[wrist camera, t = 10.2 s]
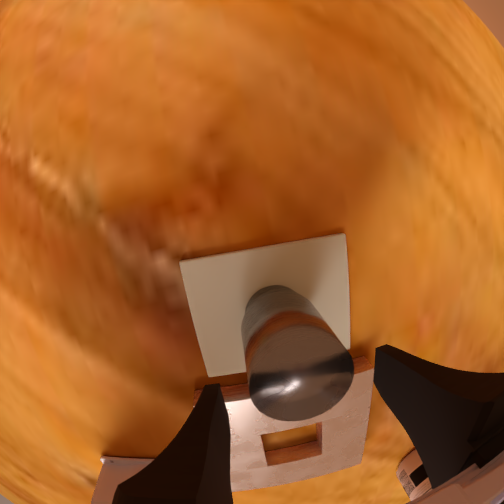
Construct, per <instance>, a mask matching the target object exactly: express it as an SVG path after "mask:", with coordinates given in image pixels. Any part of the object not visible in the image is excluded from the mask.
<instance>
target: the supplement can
mask: <svg viewBox="0 0 504 504" xmlns="http://www.w3.org/2000/svg"><path fill="white" fill-rule="evenodd" d="M396 474H397V477H398V479H399V481H400V482H401V484H402V486H403V488H404V489H405V491H406V493H407V495H408V496H409V498H410V500H411V501H412V500H414V499H416V498H418V497H420V496H422V495H424V494H426V493H428V492H429V491H431V490H432V487H431V484H430V481H429V478H428V475H427V473H426V470H425V468H424V465H423V463H422V461H421V459H420V456H419V454H418V452H417V450H416V449H415V450H413V451H412V452H411V453H410V454H409V455H407V456H406V457H405V458H404V459H403V461H402V462H401V463H400V465H399V467H398V470H397V472H396Z"/></svg>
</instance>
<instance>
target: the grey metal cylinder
mask: <svg viewBox="0 0 504 504" xmlns="http://www.w3.org/2000/svg"><path fill="white" fill-rule="evenodd" d="M241 335H242V342H243V350H244V357H245V365H246V372H247V379H248V386H249V393H250V398H251V401H252V402H253V404H254V406H255V407H256V408H257V409H258V410H259V411H260V412H261V413H263V414H264V415H266V416H268V417H270V418H273V419H276V420H280V421H302V420H307V419H310V418H313V417H316V416H318V415H321V414H323V413H325V412H326V411H328V410H329V409H331V408H332V407H334V406H335V405H336V404H337V403H338V402H339V401H340V400H341V399H342V398H343V397H344V396H345V394H346V393H347V392H348V390H349V388H350V386H351V384H352V381H353V377H354V363H353V360H352V357H351V355H350V354H349V352H348V351H347V350H346V348H345V347H344V345H343V344H342V343H341V341H340V340H339V339H338V337H337V336H336V335H335V333H334V332H333V331H332V329H331V328H330V327H329V325H328V324H327V323H326V321H325V320H324V319H323V317H322V316H321V315H320V313H319V312H318V311H317V309H316V308H315V307H314V305H313V304H312V303H311V302H310V301H309V300H308V299H307V298H306V297H304V296H302V295H300V294H298V293H296V292H295V291H294V290H292V289H290V288H288V287H286V286H282V285H271V286H267V287H264V288H262V289H260V290H258V291H257V292H256V293H255V294H253V295H252V297H251V298H250V299H249V301H248V303H247V305H246V309H245V315H244V317H243V320H242V324H241Z"/></svg>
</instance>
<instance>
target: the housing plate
mask: <svg viewBox="0 0 504 504" xmlns="http://www.w3.org/2000/svg"><path fill="white" fill-rule="evenodd" d="M352 360H353V363H354V377H353V381H352V384H351V386H350V388H349V390H348V392H347V393H346V394H345V396H344V397H343V398H342V399H341V400H340V401H339V402H338V403H337V404H336V405H335V406H334V407H332V408H331V409H329V410H328V411H326V412H325V413H323V414H321V415H318V416H316V417H313V418H310V419H307V420H302V421H280V420H276V419H273V418H270V417H268V416H266V415H264V414H263V413H261V412H260V411H259V410H258V409H257V408H256V407H255V406H254V404H253V402H252V401H251V398H250V393H249V386H248V383H244V384H238V385H231V386H224V387H220V388H221V391H222V395H223V398H224V402H225V405H226V408H227V412H228V415H229V423H230V432H231V449H230V481H231V490H232V492H234V491H244V490H252V489H259V488H265V487H271V486H277V485H282V484H287V483H292V482H297V481H301V480H306V479H310V478H314V477H318V476H322V475H325V474H329V473H332V472H336V471H339V470H342V469H345V468H349V467H352V466H355V465H358V464H360V463H361V460H362V455H363V450H364V444H365V439H366V432H367V426H368V419H369V412H370V404H371V396H372V387H373V377H374V367H373V366H372V365H371V364H370V362H369V361H368V360H367V359H366V357H365V356H361V357H358V358H354V359H352ZM202 390H203V389H201V390H195V392H194V402H193V408H194V407H195V405H196V403H197V401H198V399H199V397H200V395H201V392H202ZM314 423H316V426H317V441H313V442H309V443H305V444H301V445H296V446H292V447H287V448H282V449H277V450H272V451H266V452H265V450H264V445H263V441H262V437H261V435H263V434H268V433H274V432H279V431H284V430H288V429H293V428H298V427H302V426H306V425H310V424H314Z"/></svg>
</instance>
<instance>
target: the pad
mask: <svg viewBox="0 0 504 504" xmlns="http://www.w3.org/2000/svg"><path fill="white" fill-rule="evenodd" d="M179 264H180V269H181V273H182V278H183V282H184V286H185V291H186V295H187V299H188V303H189V307H190V311H191V315H192V319H193V323H194V327H195V331H196V335H197V338H198V342H199V346H200V349H201V353H202V356H203V360H204V363H205V367H206V370H207V374H208V377H215V376H222V375H229V374H235V373H242V372H246V365H245V357H244V350H243V342H242V335H241V324H242V320H243V317H244V315H245V309H246V305H247V303H248V301H249V299H250V298H251V297H252V295H253V294H255V293H256V292H257V291H258V290H260V289H262V288H264V287H267V286H271V285H282V286H286V287H288V288H290V289H292V290H294V291H295V292H296V293H298V294H300V295H302V296H304V297H306V298H307V299H308V300H309V301H310V302H311V303H312V304H313V305H314V307H315V308H316V309H317V311H318V312H319V313H320V315H321V316H322V317H323V319H324V320H325V321H326V323H327V324H328V325H329V327H330V328H331V329H332V331H333V332H334V333H335V335H336V336H337V337H338V339H339V340H340V341H341V343H342V344H343V345H344V347H345V348H346V350H347V349H350V299H349V276H348V259H347V245H346V234H344V233H339V234H333V235H328V236H322V237H316V238H310V239H304V240H298V241H292V242H286V243H280V244H274V245H269V246H263V247H257V248H251V249H245V250H239V251H234V252H228V253H222V254H216V255H210V256H205V257H199V258H193V259H187V260H181V261H180V262H179Z"/></svg>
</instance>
